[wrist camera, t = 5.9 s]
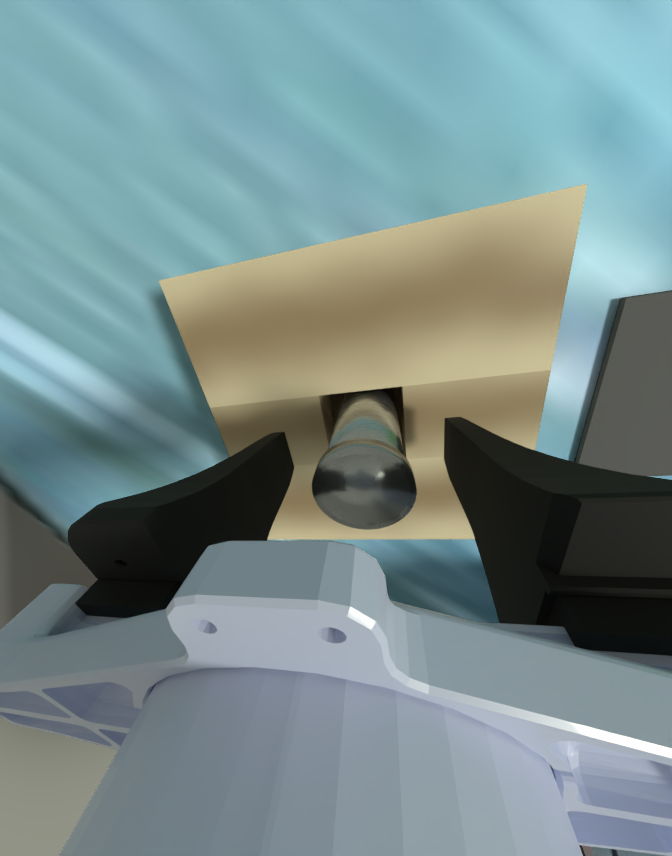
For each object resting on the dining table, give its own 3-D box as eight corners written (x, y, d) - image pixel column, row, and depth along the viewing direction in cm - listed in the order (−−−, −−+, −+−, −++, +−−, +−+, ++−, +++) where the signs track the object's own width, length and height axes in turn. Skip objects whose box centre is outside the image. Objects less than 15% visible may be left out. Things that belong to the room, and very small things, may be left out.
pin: (400, 423, 16) (419, 528, 9) (345, 428, 17) (323, 530, 10) (395, 368, 15) (413, 443, 8) (335, 377, 15) (300, 453, 8)
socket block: (496, 502, 18) (517, 538, 15) (277, 508, 21) (262, 539, 18) (536, 209, 11) (587, 183, 8) (199, 282, 14) (158, 280, 11)
